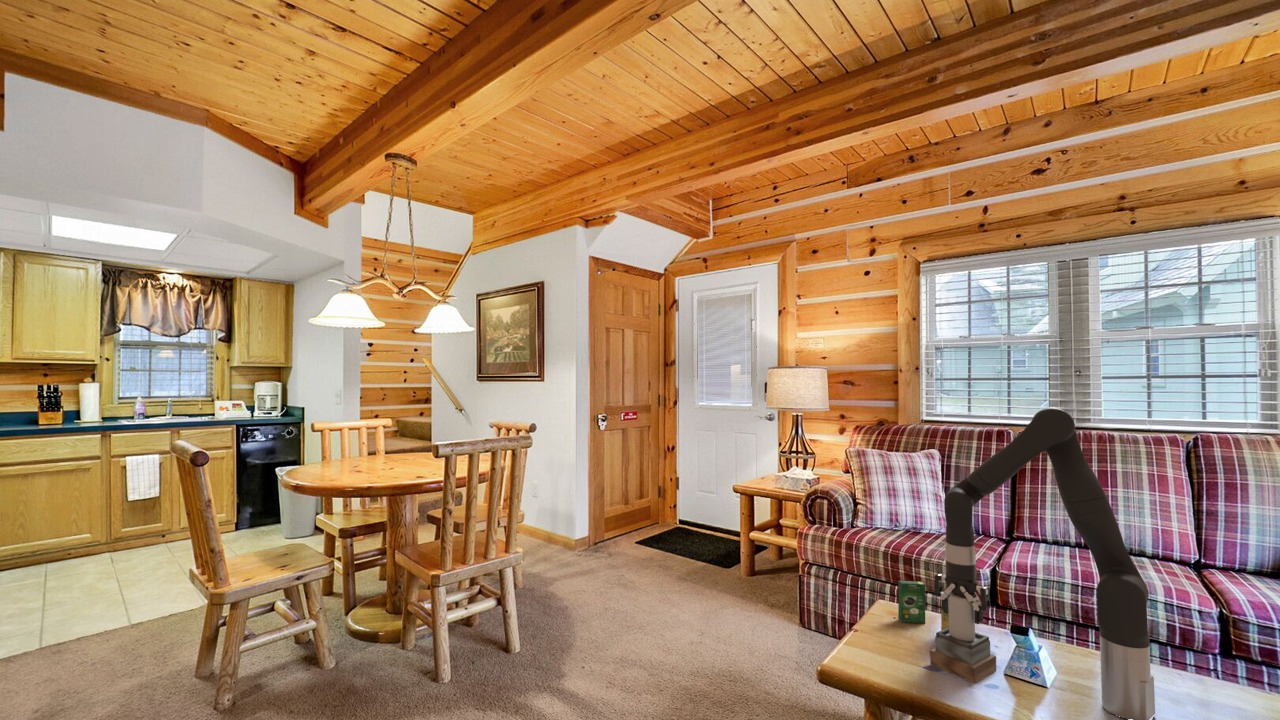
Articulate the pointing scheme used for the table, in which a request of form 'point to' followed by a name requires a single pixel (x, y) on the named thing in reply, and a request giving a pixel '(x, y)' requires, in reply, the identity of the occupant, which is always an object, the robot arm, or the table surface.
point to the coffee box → (911, 602)
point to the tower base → (963, 666)
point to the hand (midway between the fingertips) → (961, 617)
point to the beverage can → (961, 618)
